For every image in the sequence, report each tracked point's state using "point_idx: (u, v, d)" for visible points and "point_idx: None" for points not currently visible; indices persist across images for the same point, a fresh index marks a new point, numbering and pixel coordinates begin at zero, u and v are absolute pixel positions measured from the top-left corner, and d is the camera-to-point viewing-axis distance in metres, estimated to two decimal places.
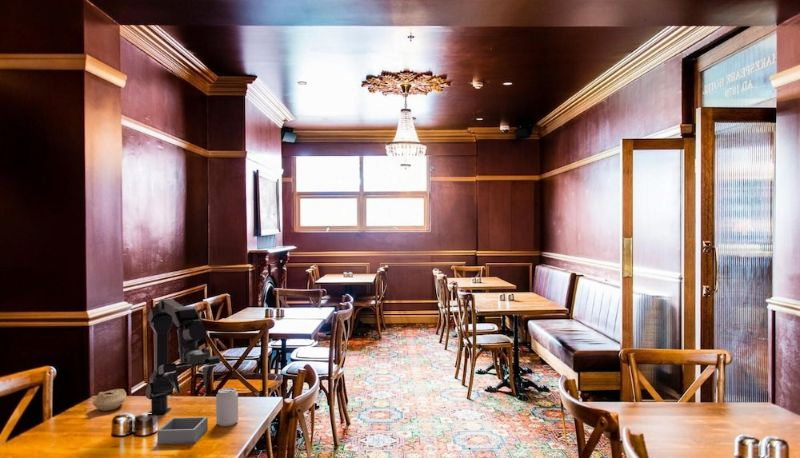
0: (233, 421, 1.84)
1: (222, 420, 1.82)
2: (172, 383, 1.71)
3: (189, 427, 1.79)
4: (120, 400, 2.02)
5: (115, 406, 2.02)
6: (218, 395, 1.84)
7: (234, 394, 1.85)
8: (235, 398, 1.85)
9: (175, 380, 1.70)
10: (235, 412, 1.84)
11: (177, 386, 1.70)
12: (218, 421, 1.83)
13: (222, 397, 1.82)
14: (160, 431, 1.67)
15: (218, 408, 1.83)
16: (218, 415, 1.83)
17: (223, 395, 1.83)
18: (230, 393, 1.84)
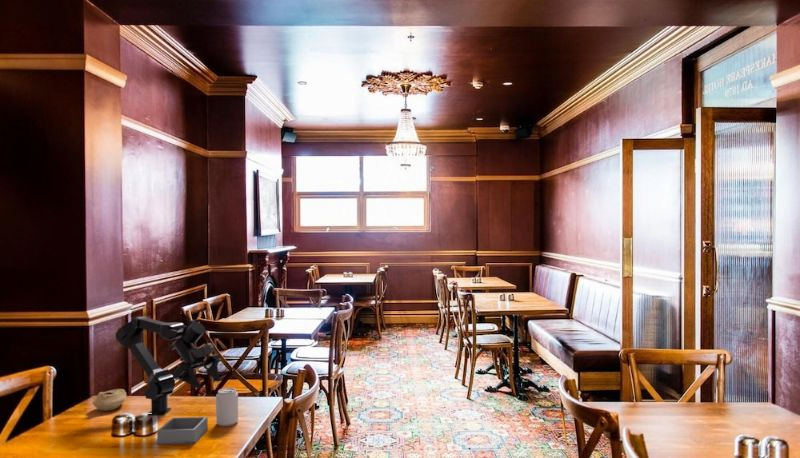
0: (233, 421, 1.84)
1: (222, 420, 1.82)
2: (190, 382, 1.85)
3: (189, 427, 1.79)
4: (120, 400, 2.02)
5: (115, 406, 2.02)
6: (218, 395, 1.84)
7: (234, 394, 1.85)
8: (235, 398, 1.85)
9: (193, 376, 1.84)
10: (235, 412, 1.84)
11: (197, 381, 1.84)
12: (218, 421, 1.83)
13: (222, 397, 1.82)
14: (160, 431, 1.67)
15: (218, 408, 1.83)
16: (218, 415, 1.83)
17: (223, 395, 1.83)
18: (230, 393, 1.84)
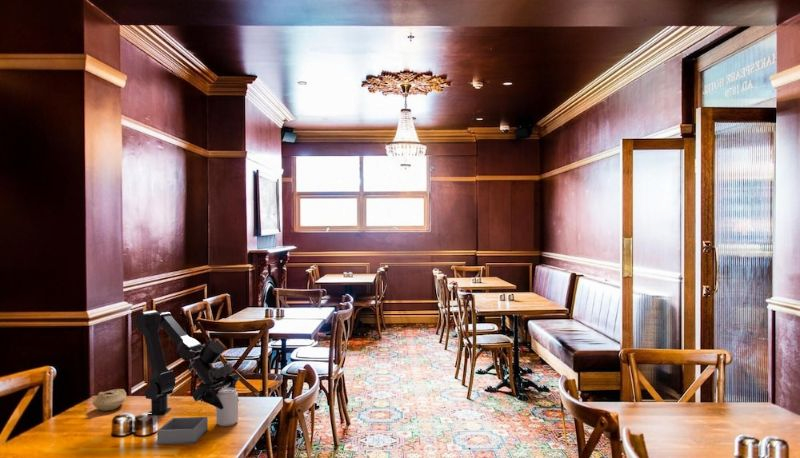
0: (233, 421, 1.84)
1: (222, 420, 1.82)
2: (212, 403, 1.82)
3: (189, 427, 1.79)
4: (120, 400, 2.02)
5: (115, 406, 2.02)
6: (218, 395, 1.84)
7: (234, 394, 1.85)
8: (235, 398, 1.85)
9: (215, 397, 1.82)
10: (235, 412, 1.84)
11: (219, 402, 1.82)
12: (218, 421, 1.83)
13: (222, 397, 1.82)
14: (160, 431, 1.67)
15: (218, 408, 1.83)
16: (218, 415, 1.83)
17: (223, 395, 1.83)
18: (230, 393, 1.84)
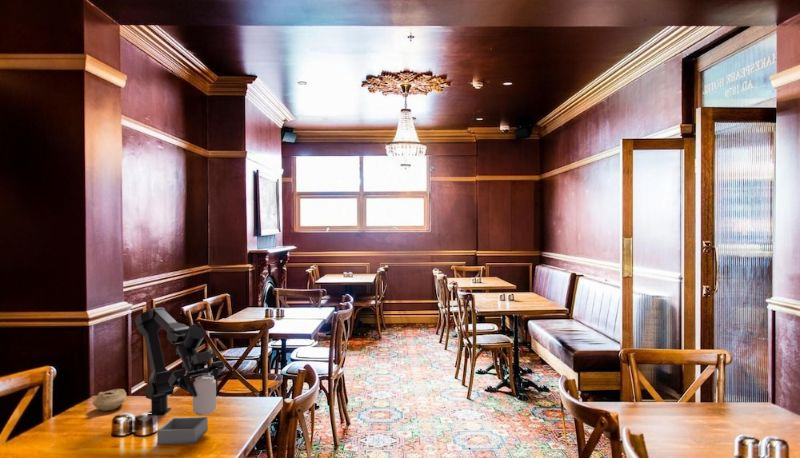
0: (207, 410, 1.76)
1: (196, 409, 1.75)
2: (187, 389, 1.76)
3: (189, 427, 1.79)
4: (120, 400, 2.02)
5: (115, 406, 2.02)
6: (194, 382, 1.77)
7: (209, 382, 1.76)
8: (210, 387, 1.76)
9: (189, 383, 1.75)
10: (210, 401, 1.76)
11: (193, 389, 1.75)
12: (193, 409, 1.76)
13: (196, 384, 1.75)
14: (160, 431, 1.67)
15: (193, 396, 1.76)
16: (193, 403, 1.76)
17: (198, 382, 1.76)
18: (205, 381, 1.76)
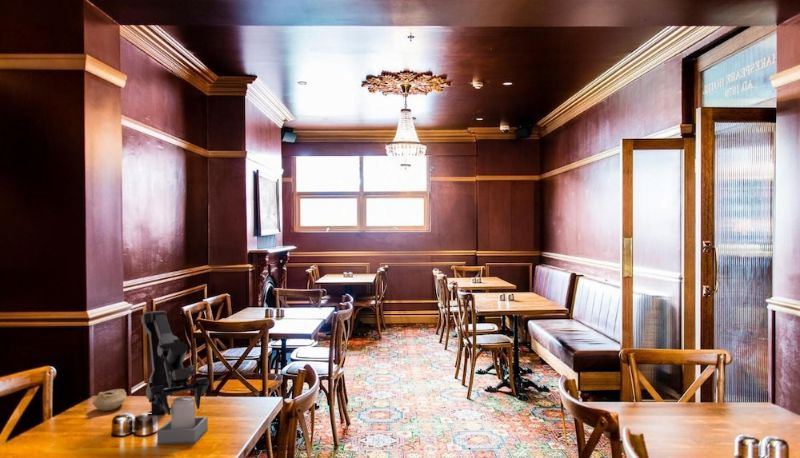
0: None
1: None
2: (163, 407, 1.72)
3: None
4: (120, 400, 2.02)
5: (115, 406, 2.02)
6: (172, 403, 1.73)
7: (185, 404, 1.71)
8: (186, 409, 1.71)
9: (164, 401, 1.71)
10: (186, 424, 1.71)
11: (167, 407, 1.70)
12: None
13: (173, 406, 1.71)
14: (160, 431, 1.67)
15: (171, 417, 1.72)
16: (171, 424, 1.72)
17: (174, 404, 1.71)
18: (181, 403, 1.71)
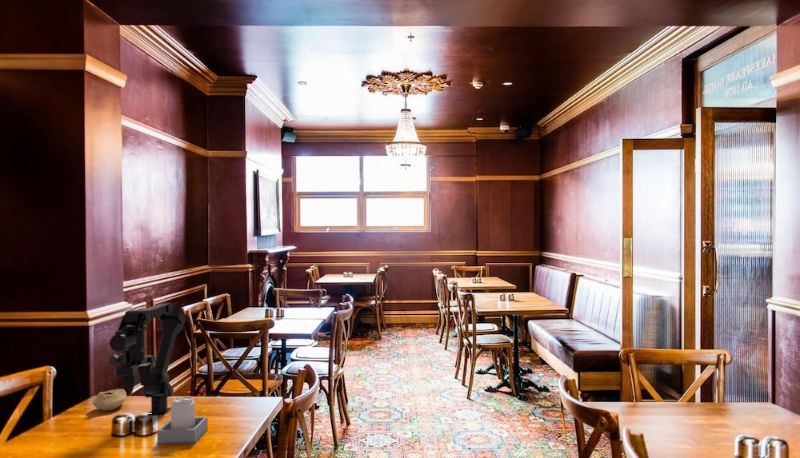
0: None
1: None
2: None
3: None
4: (120, 400, 2.02)
5: (115, 406, 2.02)
6: (172, 403, 1.73)
7: (185, 405, 1.71)
8: (186, 409, 1.71)
9: None
10: (186, 424, 1.71)
11: None
12: None
13: (172, 406, 1.71)
14: (160, 431, 1.67)
15: None
16: (171, 424, 1.72)
17: (174, 404, 1.71)
18: (181, 403, 1.71)
